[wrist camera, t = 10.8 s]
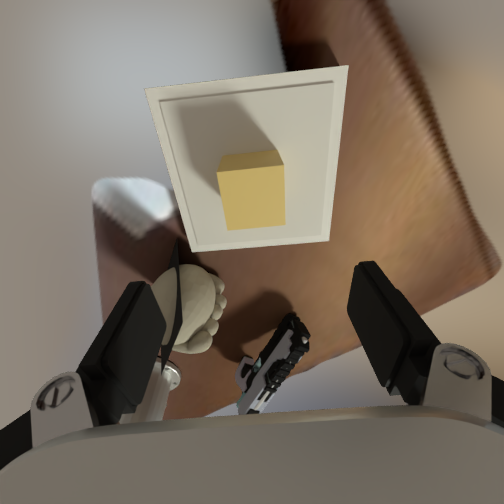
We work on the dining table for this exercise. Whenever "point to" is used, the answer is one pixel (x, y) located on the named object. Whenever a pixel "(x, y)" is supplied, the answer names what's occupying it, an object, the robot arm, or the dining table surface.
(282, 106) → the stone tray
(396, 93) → the dining table surface
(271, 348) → the toy gun
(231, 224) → the mustard cube
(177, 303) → the decorative object
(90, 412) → the robot arm
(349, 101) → the dining table surface
